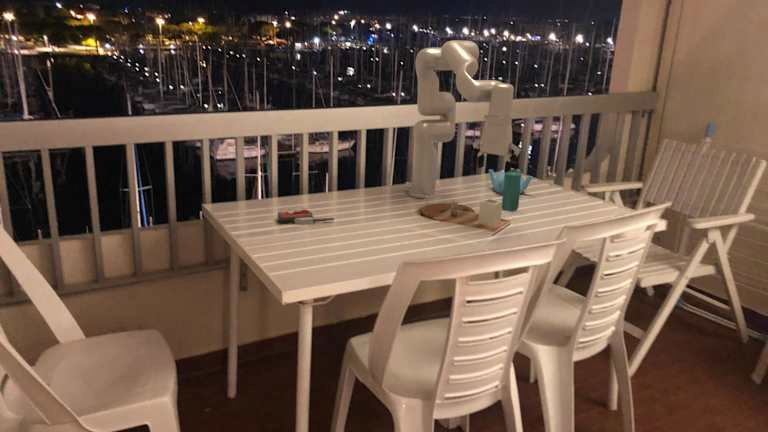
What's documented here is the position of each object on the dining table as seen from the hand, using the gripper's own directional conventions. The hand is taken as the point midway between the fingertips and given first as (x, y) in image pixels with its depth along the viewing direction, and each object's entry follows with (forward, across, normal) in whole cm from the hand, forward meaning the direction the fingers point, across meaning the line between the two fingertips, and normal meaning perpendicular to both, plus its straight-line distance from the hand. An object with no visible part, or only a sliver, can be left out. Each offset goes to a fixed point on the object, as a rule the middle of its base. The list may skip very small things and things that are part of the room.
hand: (493, 169), depth 210 cm
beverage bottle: (+21, 0, +22) cm, 30 cm away
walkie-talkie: (+22, -55, -36) cm, 69 cm away
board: (+21, -6, 0) cm, 22 cm away
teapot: (+22, -12, +52) cm, 58 cm away
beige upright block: (+19, +1, 0) cm, 19 cm away
